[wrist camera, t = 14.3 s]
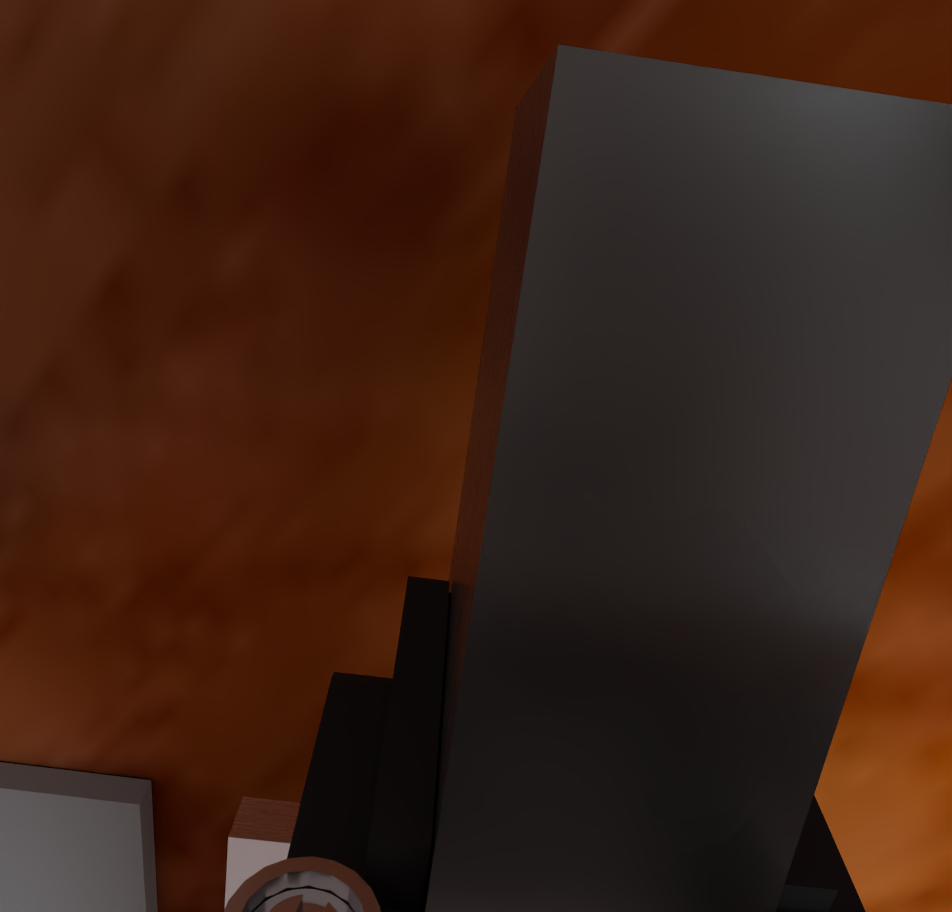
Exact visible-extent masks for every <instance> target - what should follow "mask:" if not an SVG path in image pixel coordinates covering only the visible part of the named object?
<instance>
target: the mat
mask: <svg viewBox="0 0 952 912" xmlns="http://www.w3.org/2000/svg"><path fill="white" fill-rule="evenodd" d="M0 912H158V906H157V886H156V866H155V846H154V825H153V805H152V785H151V780H145V779H136V778H128V777H120V776H111V775H103V774H95V773H86V772H78V771H70V770H62V769H53V768H45V767H37V766H28V765H20V764H12V763H3V762H0Z"/></svg>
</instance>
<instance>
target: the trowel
mask: <svg viewBox="0 0 952 912" xmlns="http://www.w3.org/2000/svg"><path fill="white" fill-rule="evenodd" d="M951 378H952V105H951V104H944V103H937V102H931V101H924V100H918V99H911V98H905V97H898V96H892V95H885V94H879V93H872V92H866V91H859V90H853V89H846V88H840V87H833V86H827V85H820V84H814V83H807V82H801V81H794V80H788V79H781V78H775V77H768V76H762V75H755V74H748V73H742V72H735V71H729V70H722V69H716V68H709V67H703V66H696V65H690V64H683V63H677V62H670V61H664V60H657V59H651V58H644V57H638V56H631V55H625V54H618V53H612V52H605V51H599V50H592V49H586V48H579V47H572V46H566V45H558V46H557V47H556V49H555V50H554V52H553V53H552V55H551V56H550V58H549V59H548V61H547V62H546V64H545V65H544V67H543V68H542V70H541V71H540V73H539V74H538V76H537V77H536V79H535V80H534V81H533V83H532V84H531V86H530V87H529V89H528V90H527V92H526V93H525V95H524V96H523V98H522V99H521V101H520V102H519V104H518V105H517V107H516V112H515V119H514V126H513V133H512V140H511V147H510V154H509V162H508V169H507V176H506V183H505V190H504V197H503V204H502V211H501V218H500V225H499V232H498V239H497V246H496V253H495V260H494V267H493V274H492V281H491V288H490V295H489V302H488V309H487V317H486V324H485V331H484V338H483V345H482V352H481V359H480V366H479V373H478V380H477V387H476V394H475V401H474V408H473V415H472V422H471V429H470V436H469V443H468V450H467V457H466V464H465V472H464V479H463V486H462V493H461V500H460V507H459V514H458V521H457V528H456V535H455V542H454V549H453V556H452V563H451V570H450V577H449V582H450V584H449V593H451V602H450V616H449V630H448V644H447V658H446V673H445V687H444V701H443V715H442V729H441V743H440V757H439V772H438V786H437V800H436V814H435V826H434V836H433V845H432V853H431V861H430V868H429V874H428V880H427V886H426V892H425V898H424V904H423V910H422V912H775V911H776V908H777V905H778V902H779V899H780V895H781V892H782V889H783V886H784V883H785V880H786V877H787V874H788V871H789V868H790V865H791V862H792V859H793V856H794V853H795V850H796V847H797V844H798V841H799V838H800V835H801V832H802V829H803V826H804V823H805V820H806V817H807V814H808V811H809V808H810V805H811V802H812V799H813V796H814V793H815V790H816V787H817V784H818V781H819V778H820V775H821V772H822V769H823V765H824V762H825V759H826V756H827V753H828V750H829V747H830V744H831V741H832V738H833V735H834V732H835V729H836V726H837V723H838V720H839V717H840V714H841V711H842V708H843V705H844V702H845V699H846V696H847V693H848V690H849V687H850V684H851V681H852V678H853V675H854V672H855V669H856V666H857V663H858V660H859V657H860V654H861V651H862V648H863V645H864V642H865V639H866V635H867V632H868V629H869V626H870V623H871V620H872V617H873V614H874V611H875V608H876V605H877V602H878V599H879V596H880V593H881V590H882V587H883V584H884V581H885V578H886V575H887V572H888V569H889V566H890V563H891V560H892V557H893V554H894V551H895V548H896V545H897V542H898V539H899V536H900V533H901V530H902V527H903V524H904V521H905V518H906V515H907V512H908V509H909V505H910V502H911V499H912V496H913V493H914V490H915V487H916V484H917V481H918V478H919V475H920V472H921V469H922V466H923V463H924V460H925V457H926V454H927V451H928V448H929V445H930V442H931V439H932V436H933V433H934V430H935V427H936V424H937V421H938V418H939V415H940V412H941V409H942V406H943V403H944V400H945V397H946V394H947V391H948V388H949V385H950V382H951ZM299 807H300V803H298V802H288V801H279V800H270V799H261V798H252V797H243V798H242V801H241V804H240V807H239V809H238V812H237V815H236V817H235V820H234V823H233V826H232V828H231V831H230V834H229V836H228V852H227V872H226V891H225V908H226V905H227V903H228V901H229V899H230V898H231V897H232V896H233V894H234V893H235V892H236V891H237V889H238V888H239V887H240V886H241V885H242V883H243V882H244V881H245V880H247V879H248V878H249V877H251V876H252V875H254V874H255V873H257V872H258V871H260V870H261V869H262V868H264V867H265V866H268V865H271V864H274V863H277V862H279V861H282V860H285V859H287V856H288V852H289V847H290V843H291V839H292V835H293V831H294V827H295V823H296V819H297V815H298V811H299Z"/></svg>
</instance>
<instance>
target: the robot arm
mask: <svg viewBox="0 0 952 912" xmlns="http://www.w3.org/2000/svg"><path fill="white" fill-rule="evenodd" d="M449 584H450V582H449V581H443V580H435V579H427V578H419V577H411V576H408V582H407V588H406V595H405V601H404V608H403V615H402V621H401V628H400V635H399V641H398V648H397V655H396V661H395V668H394V675H393V679H390V678H382V677H373V676H365V675H356V674H347V673H339V672H334V674H333V676H332V679H331V683H330V686H329V690H328V695H327V699H326V703H325V707H324V711H323V715H322V719H321V723H320V727H319V731H318V735H317V739H316V743H315V747H314V751H313V755H312V759H311V763H310V767H309V771H308V775H307V779H306V783H305V787H304V791H303V795H302V799H301V803H300V807H299V811H298V815H297V819H296V823H295V827H294V831H293V835H292V839H291V843H290V847H289V852H288V856H287V859H285V860H282V861H279V862H277V863H274V864H271V865H268V866H265V867H264V868H262V869H261V870H260V871H258V872H257V873H255V874H254V875H252V876H251V877H249V878H248V879H247V880H245V881H244V882H243V883H242V885H241V886H240V887H239V888H238V889H237V891H236V892H235V893H234V894H233V896H232V897H231V898H230V899H229V901H228V903H227V905H226V908H225V910H224V912H422V910H423V904H424V898H425V892H426V886H427V880H428V874H429V868H430V861H431V853H432V845H433V836H434V826H435V814H436V800H437V786H438V772H439V757H440V743H441V729H442V715H443V701H444V687H445V673H446V658H447V644H448V630H449V616H450V602H451V593H449ZM775 912H865V909H864V907H863V905H862V903H861V900H860V898H859V896H858V894H857V891H856V889H855V887H854V884H853V882H852V880H851V878H850V875H849V873H848V871H847V869H846V866H845V864H844V862H843V859H842V857H841V855H840V853H839V850H838V848H837V846H836V844H835V841H834V839H833V837H832V834H831V832H830V830H829V828H828V825H827V823H826V821H825V819H824V816H823V814H822V812H821V809H820V807H819V805H818V803H817V800H816V798H815V796H813V799H812V802H811V805H810V808H809V811H808V814H807V817H806V820H805V823H804V826H803V829H802V832H801V835H800V838H799V841H798V844H797V847H796V850H795V853H794V856H793V859H792V862H791V865H790V868H789V871H788V874H787V877H786V880H785V883H784V886H783V889H782V892H781V895H780V899H779V902H778V905H777V908H776V911H775Z"/></svg>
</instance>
